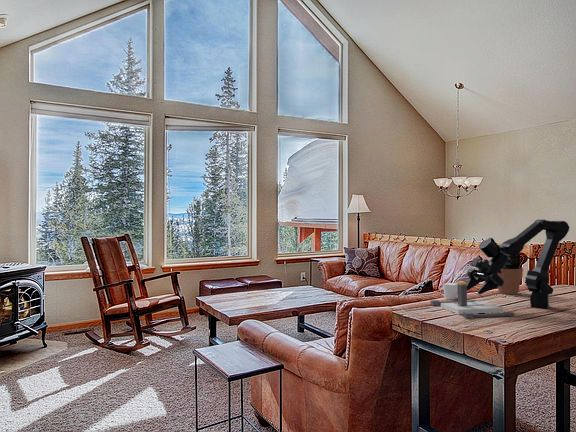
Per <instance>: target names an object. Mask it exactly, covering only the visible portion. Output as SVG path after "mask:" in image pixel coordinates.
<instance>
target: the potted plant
mask: <svg viewBox="0 0 576 432" xmlns="http://www.w3.org/2000/svg"><path fill="white" fill-rule="evenodd" d="M506 256H507V257H508V258H511V259H512V263H513V265H509V264H506V265H505V266H504V267H503V268H502V269H501V270H500V271H501V272H502V273H501V274H499V273H498V275H499V276H500V277H501V278H502V279H503V280H504V285H503V286H502V287H498V288H497V291H498V293H499V294H502V295H508V296H509V294H515V295H518V294H519V290H520V285H521V280H522V279H523V277H524V276H523V275H524V268H523V267H520V265H521V254H520V253H519V254H518V255H517V256H509V255H506Z"/></svg>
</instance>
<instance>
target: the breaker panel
mask: <svg viewBox="0 0 576 432" xmlns="http://www.w3.org/2000/svg"><path fill="white" fill-rule="evenodd" d="M441 307H442V308H441ZM440 308H441V309H443V308H444V309H443V310H445V309H447V310H446V311H448V310H449V311H448V312H450V311H452V312H451V313H453V312H455V313H458V314H463V312H471V313H473V314H475V313H485V314H486V313H490V312H503V313H504V307H503V306H498V305H496V304H492V303H489V302H486V301H484V300H483V301H476V302H467V305H465V306H461V305H458V302H457V303H455V302H452V303H441V305H440ZM455 313H454V314H455ZM458 314H457V315H458Z"/></svg>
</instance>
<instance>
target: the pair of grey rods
mask: <svg viewBox="0 0 576 432" xmlns="http://www.w3.org/2000/svg"><path fill="white" fill-rule="evenodd" d="M452 302H455V303H457V302H458V300H452V301H451V300H450V301H449V300H448V301H440V300H438V299H431V300H430V305H431V306H433V305H439V306H441V303H452ZM467 302H477V301H476V300H469V299H468V300H467ZM498 316H500V317H514V316H515V313H514V312H509V311H508V312H503V313H485V314H473V313H471V312H463V315H462V318H463V317H465V318H464V319H467V318H473V319H475V318H477V319H479V318H497V317H498ZM478 317H479V318H478ZM467 320H468V319H467Z"/></svg>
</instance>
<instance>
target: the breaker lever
mask: <svg viewBox="0 0 576 432" xmlns="http://www.w3.org/2000/svg"><path fill="white" fill-rule="evenodd" d="M467 282H468V281H467ZM467 282H466V281H462V280H461V281H457V283H456V284H457V288H458V290H457V301H458V305H461V306H465V305H467V301H468V291H467Z"/></svg>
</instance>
